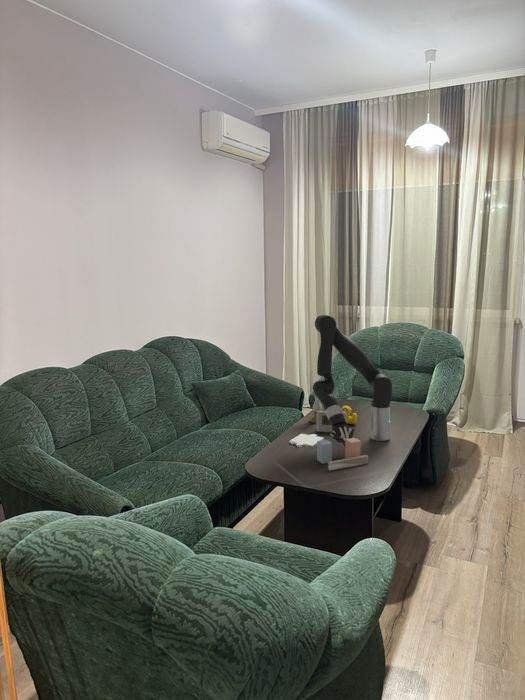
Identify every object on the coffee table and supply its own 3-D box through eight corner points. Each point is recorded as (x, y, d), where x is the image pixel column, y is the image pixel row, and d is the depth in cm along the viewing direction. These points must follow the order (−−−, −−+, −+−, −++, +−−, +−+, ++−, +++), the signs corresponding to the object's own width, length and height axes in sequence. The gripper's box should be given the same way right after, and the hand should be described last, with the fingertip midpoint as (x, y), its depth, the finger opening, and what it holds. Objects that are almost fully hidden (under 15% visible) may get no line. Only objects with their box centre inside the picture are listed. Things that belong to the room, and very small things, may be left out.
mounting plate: (303, 435, 283) (303, 432, 282) (326, 439, 276) (326, 436, 276) (286, 446, 268) (286, 442, 267) (310, 450, 261) (310, 446, 261)
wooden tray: (313, 461, 246) (313, 452, 246) (351, 454, 254) (351, 446, 253) (329, 472, 234) (329, 463, 233) (368, 464, 242) (368, 456, 241)
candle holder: (324, 423, 301) (324, 388, 297) (308, 423, 302) (308, 387, 299) (325, 419, 309) (326, 384, 306) (310, 418, 311) (310, 384, 307)
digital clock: (314, 432, 287) (315, 413, 285) (318, 427, 295) (318, 408, 293) (345, 435, 282) (345, 415, 280) (348, 429, 290) (348, 410, 288)
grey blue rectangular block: (316, 460, 246) (316, 441, 244) (326, 458, 248) (326, 439, 246) (322, 463, 241) (322, 444, 240) (332, 462, 243) (332, 443, 242)
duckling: (335, 423, 301) (335, 406, 300) (339, 420, 306) (339, 403, 304) (355, 426, 296) (355, 408, 294) (358, 423, 301) (358, 406, 299)
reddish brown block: (345, 457, 248) (345, 439, 246) (354, 456, 250) (354, 437, 248) (351, 461, 243) (351, 442, 242) (360, 459, 245) (360, 440, 244)
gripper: (326, 414, 252) (339, 447, 243) (350, 411, 257) (364, 443, 248) (320, 422, 258) (333, 455, 249) (344, 418, 263) (357, 450, 254)
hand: (349, 449), depth 249 cm, fingers closed
